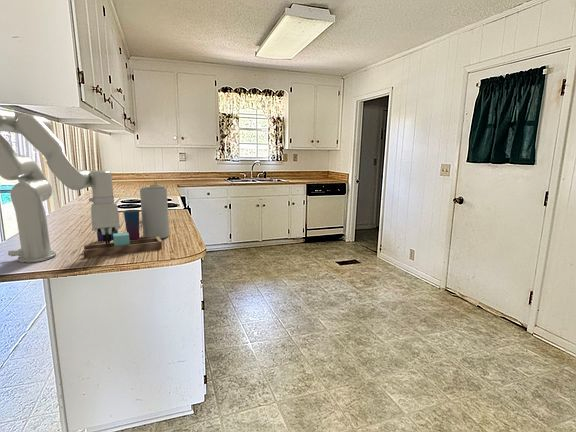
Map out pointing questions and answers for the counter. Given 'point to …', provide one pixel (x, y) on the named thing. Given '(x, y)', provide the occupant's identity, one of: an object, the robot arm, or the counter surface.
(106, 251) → the chute
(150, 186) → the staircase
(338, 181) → the counter surface
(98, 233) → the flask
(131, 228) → the cup
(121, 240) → the block
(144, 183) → the counter surface
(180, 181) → the counter surface
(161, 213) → the cylinder vase
